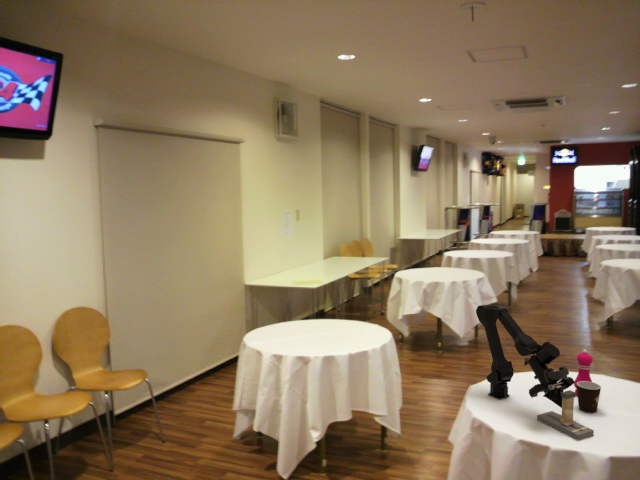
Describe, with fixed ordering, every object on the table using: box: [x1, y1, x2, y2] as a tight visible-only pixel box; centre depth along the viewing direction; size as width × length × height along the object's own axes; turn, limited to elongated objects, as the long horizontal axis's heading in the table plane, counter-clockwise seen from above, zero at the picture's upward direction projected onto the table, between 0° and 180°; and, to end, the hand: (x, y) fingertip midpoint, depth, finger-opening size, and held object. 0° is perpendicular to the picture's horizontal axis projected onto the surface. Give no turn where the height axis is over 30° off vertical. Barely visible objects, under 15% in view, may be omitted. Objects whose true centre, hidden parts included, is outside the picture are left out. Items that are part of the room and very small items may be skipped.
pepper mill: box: [573, 349, 594, 397], centre depth 222 cm, size 7×7×20 cm
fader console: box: [536, 410, 595, 441], centre depth 193 cm, size 18×8×2 cm, turn 25°
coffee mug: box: [577, 381, 602, 414], centre depth 209 cm, size 12×9×10 cm
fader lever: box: [560, 389, 576, 426], centre depth 192 cm, size 3×5×12 cm, turn 115°
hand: (564, 408), depth 193 cm, fingers closed, pressing on fader lever
